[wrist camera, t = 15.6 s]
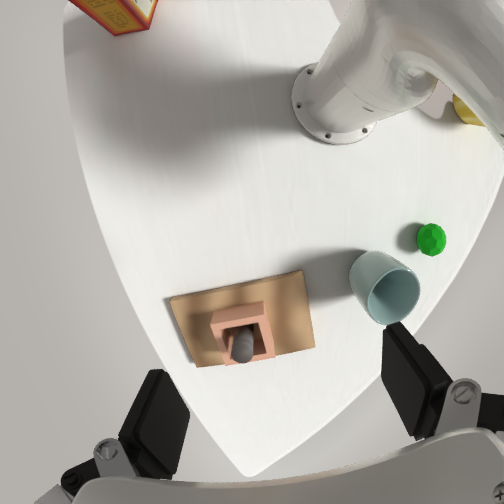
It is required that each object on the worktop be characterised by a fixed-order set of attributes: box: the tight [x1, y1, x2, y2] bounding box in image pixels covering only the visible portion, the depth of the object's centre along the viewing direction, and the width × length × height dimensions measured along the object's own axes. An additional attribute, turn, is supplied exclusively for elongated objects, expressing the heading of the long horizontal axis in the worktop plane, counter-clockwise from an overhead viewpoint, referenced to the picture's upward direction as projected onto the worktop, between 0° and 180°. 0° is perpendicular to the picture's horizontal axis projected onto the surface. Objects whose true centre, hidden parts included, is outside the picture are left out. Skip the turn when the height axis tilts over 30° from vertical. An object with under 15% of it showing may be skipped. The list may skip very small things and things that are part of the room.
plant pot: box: [453, 94, 485, 127], centre depth 25 cm, size 10×10×10 cm
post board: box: [169, 270, 315, 368], centre depth 37 cm, size 20×13×8 cm, turn 104°
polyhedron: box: [417, 223, 446, 256], centre depth 35 cm, size 5×5×5 cm
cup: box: [349, 251, 420, 325], centre depth 34 cm, size 8×8×10 cm
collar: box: [210, 301, 275, 366], centre depth 38 cm, size 7×7×4 cm
